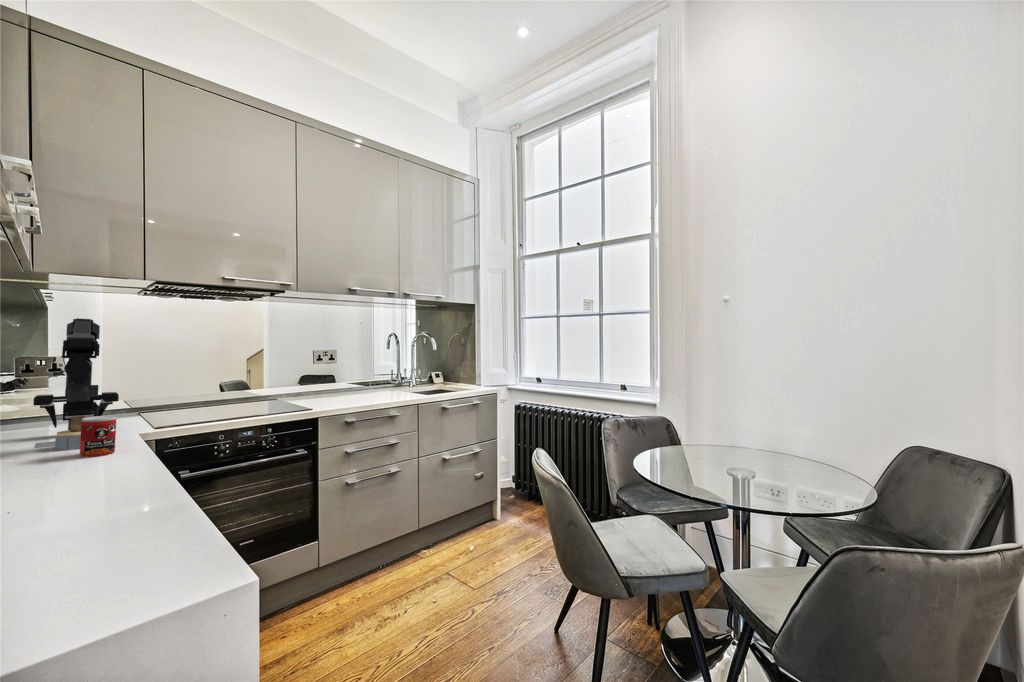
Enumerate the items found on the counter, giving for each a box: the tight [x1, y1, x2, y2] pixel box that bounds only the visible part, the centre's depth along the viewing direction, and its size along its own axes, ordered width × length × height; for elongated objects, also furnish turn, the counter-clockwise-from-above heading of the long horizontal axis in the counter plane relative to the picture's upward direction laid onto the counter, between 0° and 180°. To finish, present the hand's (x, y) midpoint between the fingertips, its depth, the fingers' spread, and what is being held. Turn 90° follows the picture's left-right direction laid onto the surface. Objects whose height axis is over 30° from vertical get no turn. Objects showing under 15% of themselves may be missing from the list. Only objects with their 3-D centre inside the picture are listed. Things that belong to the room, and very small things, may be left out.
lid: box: [56, 415, 84, 437], centre depth 136 cm, size 9×9×6 cm
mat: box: [34, 440, 55, 449], centre depth 140 cm, size 10×8×1 cm
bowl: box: [54, 434, 81, 451], centre depth 136 cm, size 9×9×4 cm
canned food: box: [79, 415, 117, 458], centre depth 129 cm, size 8×8×11 cm
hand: (76, 425), depth 136 cm, fingers open, 9 cm apart
